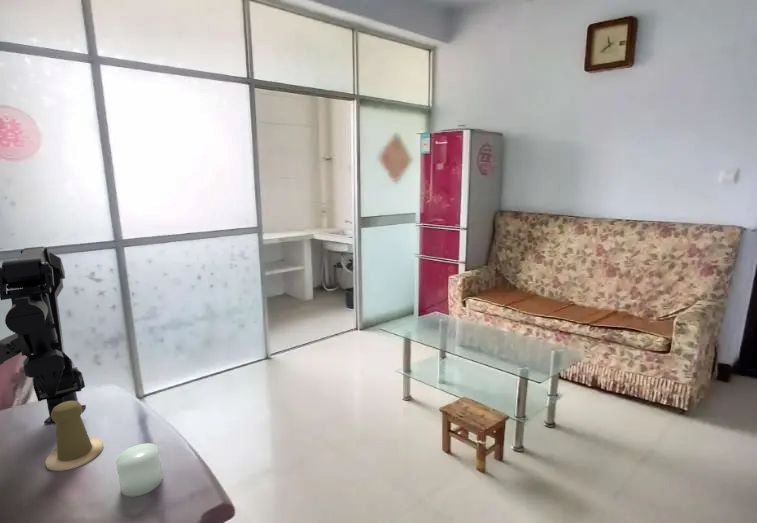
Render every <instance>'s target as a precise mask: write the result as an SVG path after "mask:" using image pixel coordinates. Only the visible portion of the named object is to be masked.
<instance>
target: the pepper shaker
mask: <svg viewBox="0 0 757 523" xmlns="http://www.w3.org/2000/svg"><path fill="white" fill-rule="evenodd" d="M81 405H82V404H81V403H80V402H79V400H78V401H66V402H63V403H61V404H59V405H57V406H55V407H54V408H53V410H52V412H51V418H52V420H53V422H55V423H54V424H55V427H56V449H57V456H58V460H60V461H64V462H66V461H72V460H76V459H78V458H81V457H82V456H84V455H86V454H87V453H89V452H90V450H91V449H92V444H91V441H90V439H89V438H90V437H89V434H88V432H87V430H86V427H85V424H84V422H83V419H82V414H83V411H82V406H81Z"/></svg>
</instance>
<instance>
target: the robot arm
mask: <svg viewBox="0 0 757 523" xmlns="http://www.w3.org/2000/svg"><path fill="white" fill-rule="evenodd" d="M64 279H66V273H65V268H64V265H63V261H62V259H61V258H60V256H57V255H56V254H54V253H52V252H50V250H49V247H48V246H44V245H43V246H32V247H25V248H23V249H20V254H19V256H18V257H17V259H11V260H10V259H9V260H3V261H2V263H1V267H0V301H4V300H5V301H6V300H10V301H11V307H10V309H9V310H8V311H7V313H6V315H5V319H4V323H5V325H6V328H8V329H9V331H11V332H12V333H13V334H12V335H11V334H10V335H9V336H8V335H7V336H6V337H3V338H2V339H0V366H1V365H3V364H4V362H6V361H8V360H10V359H12V358H13V357H16V356H18V355H20V353H21V356H22V357H23V356H24V357H25V359H24V360H23V361H22V362H23V369H24V370H23V371H24V374H25V377H27V378H32V385H33V386H32V387H33V389H34V393H35V396H36V399H37V402H38V403H39V402H42V401H45V400H46V405H47V409H48V410H47V411H48V414H49V416H48V417H47V418H46V419H45V420H44V421H43V423H44V424H43V425H49V424H50V425H51V424H56V423H55V422H53V420H52V418H51V412H52V410H53V408H54V407H55V406H57V405H59V404H61V403H63V402H66V401H78V402H79V399H78V395H77V392H81V391H82V389H84V388H85V387H86V385H85V380H84V376H83V373H82V371H80V370H79V369H78V367H77V366H75V363H74V361H73V360H72V359H71V358H70V357H69V355H67V354H66V353H65V346H64V339H63V333H62V325H61V324H62V323H61V314H60V308H59V302H58V297H59V295H60V293H61V292H62V291H63V289H64V281H63V280H64ZM81 406H82V412H83V411H85V409H86V407H87V405H86V404H81Z"/></svg>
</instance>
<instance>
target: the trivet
mask: <svg viewBox="0 0 757 523" xmlns="http://www.w3.org/2000/svg"><path fill="white" fill-rule="evenodd" d="M89 439H90V441H91V444H92V449H91V450H90V452H89V453H87V454H86V455H84V456H82V457H81V458H78V459H76V460H72V461H66V462H64V461H60V460H58V456H57V448H56V449H55V450H54V451H52V452H51V453H50V454H49V455H48V456H47V457H46V459H45V466H46V468H47V469H48V470H50V471H52V472H53V471H54V472H62V471H68V470H73V469H75V468H78V467H81V466H83V465H85V464H87V463H90V462H91V461H93V460H94V459H95V458H97V457H98V456H99V455H100V454H101V453H102V451H104V442H103V440H102V439H100V438H98V437H89Z"/></svg>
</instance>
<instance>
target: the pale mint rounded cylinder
mask: <svg viewBox="0 0 757 523" xmlns="http://www.w3.org/2000/svg"><path fill="white" fill-rule="evenodd" d="M115 465H116V471H117V476H118V481H119V486H120V491H121V494H122V495H123V496H125V497H129V498H132V497H133V498H134V497H140V496H143V495H145V494H148V493H150V492H152V491H153V490H156V488H157V487H159V486H160V485H161V483H162V481H163V479H164V475H163V474H164V473H163V469H162V468H163V466H162V461H161V456H160V448H159V445H157V444H155V443H148V442H147V443H140V444H137V445H134V446H131V447H129V448H126V449H125V450H124V451H122V452H120V454H119V455H118V456H117V457H116V459H115Z"/></svg>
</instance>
